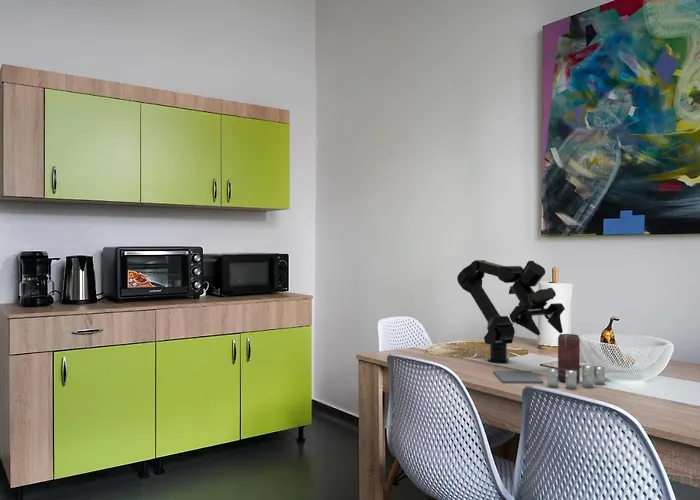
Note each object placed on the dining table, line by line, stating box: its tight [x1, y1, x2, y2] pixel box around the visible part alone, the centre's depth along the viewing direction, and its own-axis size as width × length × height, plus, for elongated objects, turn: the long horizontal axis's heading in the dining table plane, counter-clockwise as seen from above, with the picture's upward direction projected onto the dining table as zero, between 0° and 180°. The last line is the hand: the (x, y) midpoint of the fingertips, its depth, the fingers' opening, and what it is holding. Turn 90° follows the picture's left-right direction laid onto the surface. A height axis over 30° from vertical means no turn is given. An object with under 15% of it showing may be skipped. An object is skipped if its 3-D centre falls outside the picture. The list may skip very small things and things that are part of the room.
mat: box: [492, 370, 544, 384], centre depth 179 cm, size 14×12×1 cm
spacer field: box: [547, 364, 606, 390], centre depth 170 cm, size 8×21×6 cm, turn 114°
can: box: [557, 333, 581, 384], centre depth 174 cm, size 6×6×14 cm
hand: (550, 333), depth 181 cm, fingers open, 9 cm apart
